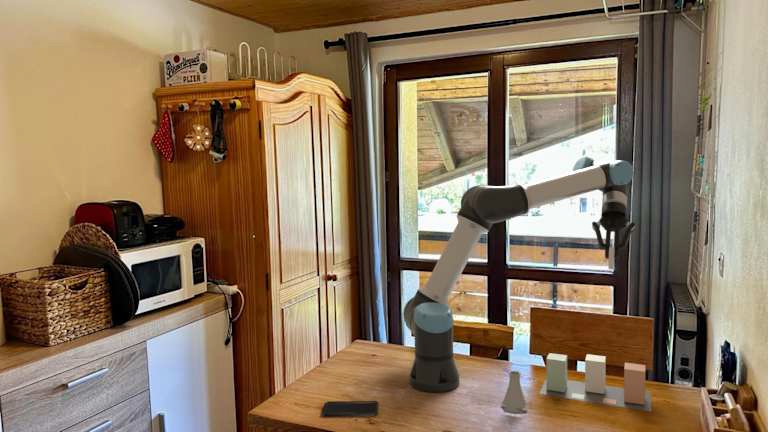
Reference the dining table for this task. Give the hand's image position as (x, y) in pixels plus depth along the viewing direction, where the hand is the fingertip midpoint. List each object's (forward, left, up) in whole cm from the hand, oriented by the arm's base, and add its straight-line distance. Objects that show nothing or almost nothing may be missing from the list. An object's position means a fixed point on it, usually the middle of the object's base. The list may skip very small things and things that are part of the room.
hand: (611, 266), depth 159 cm
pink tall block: (+7, -20, -33) cm, 39 cm away
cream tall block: (-3, -17, -33) cm, 37 cm away
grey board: (-3, -19, -34) cm, 39 cm away
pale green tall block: (-13, -20, -33) cm, 40 cm away
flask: (-22, -34, -34) cm, 53 cm away
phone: (-63, -52, -35) cm, 89 cm away
